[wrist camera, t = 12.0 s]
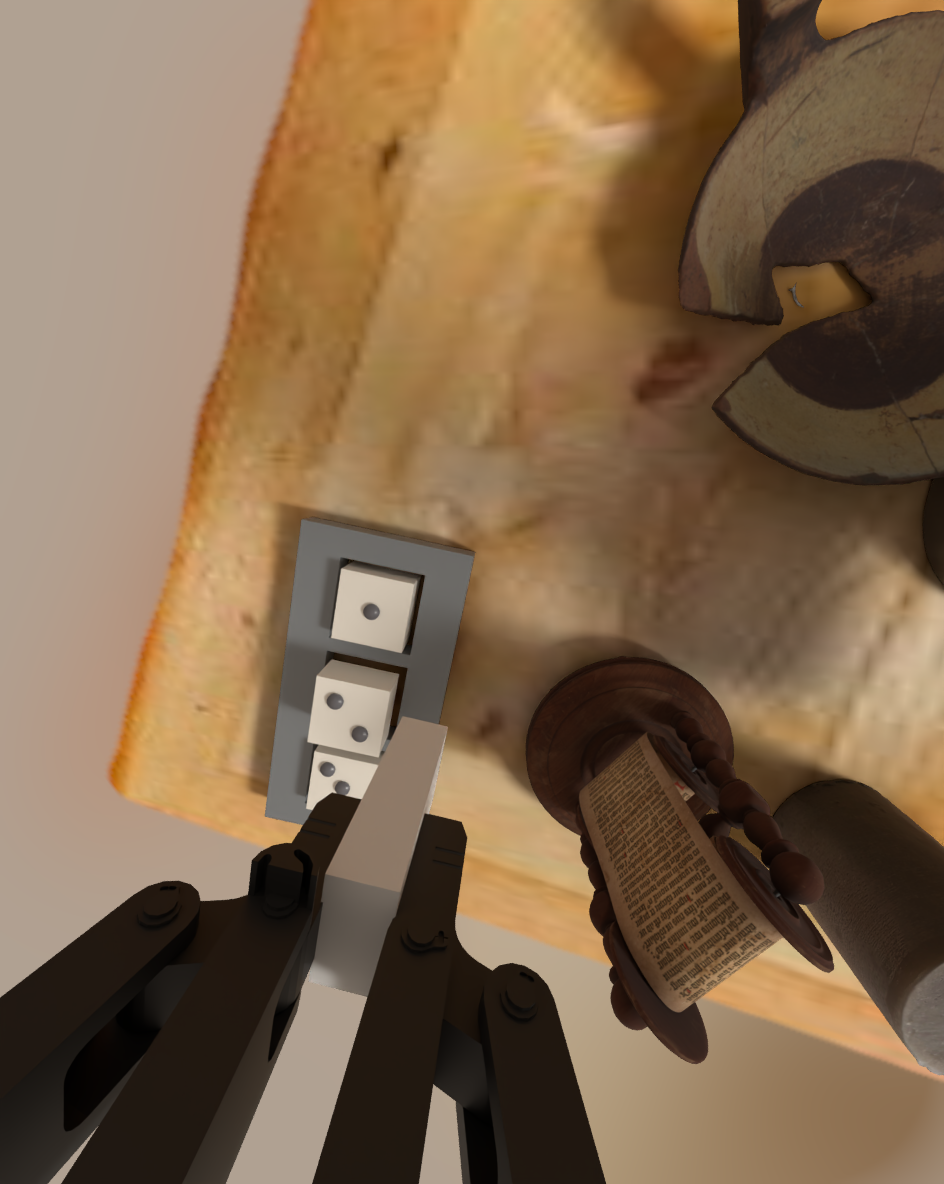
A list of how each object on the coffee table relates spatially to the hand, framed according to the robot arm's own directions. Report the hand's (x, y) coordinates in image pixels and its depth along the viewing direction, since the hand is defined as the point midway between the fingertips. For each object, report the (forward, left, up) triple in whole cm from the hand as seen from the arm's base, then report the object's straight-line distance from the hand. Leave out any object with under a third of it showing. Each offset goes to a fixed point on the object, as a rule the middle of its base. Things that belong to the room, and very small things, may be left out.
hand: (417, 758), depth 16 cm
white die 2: (+8, -6, -19) cm, 22 cm away
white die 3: (+15, -6, -21) cm, 27 cm away
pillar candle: (+12, +32, -21) cm, 40 cm away
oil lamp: (-27, +18, -21) cm, 39 cm away
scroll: (+8, +14, -21) cm, 27 cm away
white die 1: (+1, -6, -21) cm, 22 cm away
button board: (+8, -6, -21) cm, 24 cm away
